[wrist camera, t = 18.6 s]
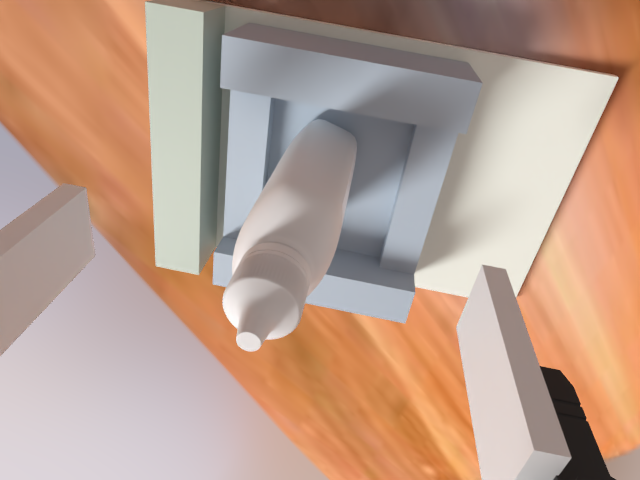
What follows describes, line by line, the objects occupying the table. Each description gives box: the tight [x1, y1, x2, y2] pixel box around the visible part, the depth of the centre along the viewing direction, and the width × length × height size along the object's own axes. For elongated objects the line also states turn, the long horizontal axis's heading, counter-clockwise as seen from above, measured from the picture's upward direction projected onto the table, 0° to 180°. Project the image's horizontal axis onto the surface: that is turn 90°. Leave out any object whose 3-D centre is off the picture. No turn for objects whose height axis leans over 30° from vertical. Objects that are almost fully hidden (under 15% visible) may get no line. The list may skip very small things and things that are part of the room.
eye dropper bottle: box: [222, 119, 357, 351], centre depth 18 cm, size 4×6×12 cm
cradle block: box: [213, 23, 483, 323], centre depth 23 cm, size 12×10×4 cm
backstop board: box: [145, 0, 619, 298], centre depth 24 cm, size 13×20×4 cm, turn 81°
